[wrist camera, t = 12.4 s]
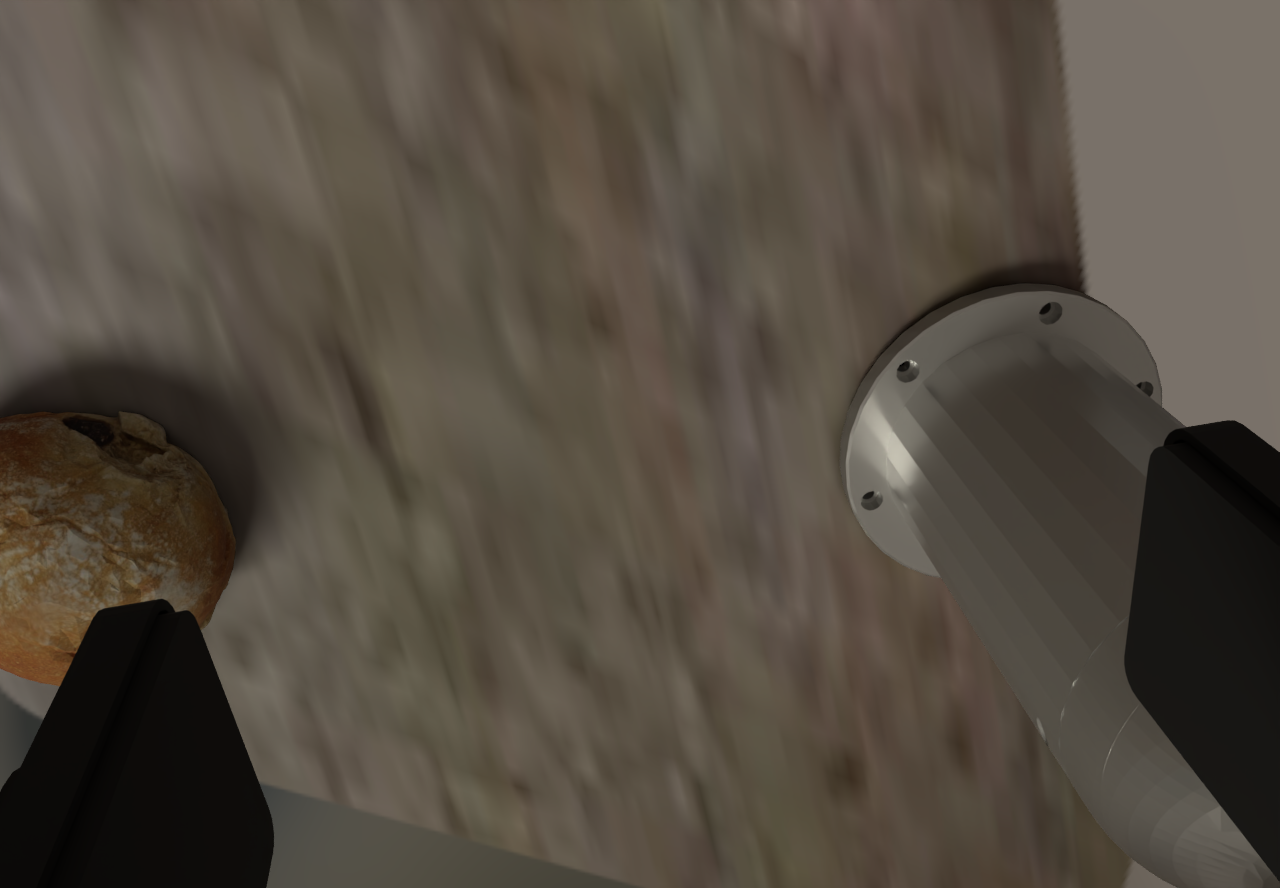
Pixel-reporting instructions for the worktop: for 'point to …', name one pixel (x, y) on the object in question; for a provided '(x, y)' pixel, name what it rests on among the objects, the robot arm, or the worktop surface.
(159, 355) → the worktop surface
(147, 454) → the bread roll
